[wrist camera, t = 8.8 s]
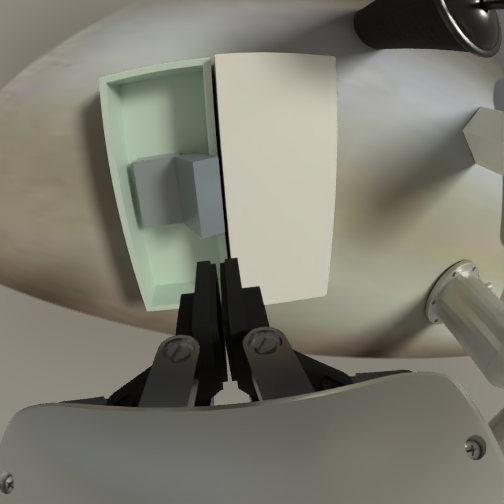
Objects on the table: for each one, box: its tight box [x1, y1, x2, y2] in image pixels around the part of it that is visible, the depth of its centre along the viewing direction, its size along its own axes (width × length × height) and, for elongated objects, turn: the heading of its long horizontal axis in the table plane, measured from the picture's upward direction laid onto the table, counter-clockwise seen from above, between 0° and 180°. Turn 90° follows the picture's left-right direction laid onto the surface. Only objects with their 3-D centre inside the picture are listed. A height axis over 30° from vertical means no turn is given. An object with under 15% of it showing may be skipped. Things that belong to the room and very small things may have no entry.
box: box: [99, 57, 228, 311], centre depth 24 cm, size 9×22×4 cm, turn 3°
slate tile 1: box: [175, 152, 225, 239], centre depth 22 cm, size 4×6×2 cm
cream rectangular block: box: [214, 52, 337, 305], centre depth 24 cm, size 9×22×5 cm, turn 3°
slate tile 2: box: [133, 152, 184, 227], centre depth 24 cm, size 4×6×2 cm, turn 2°
